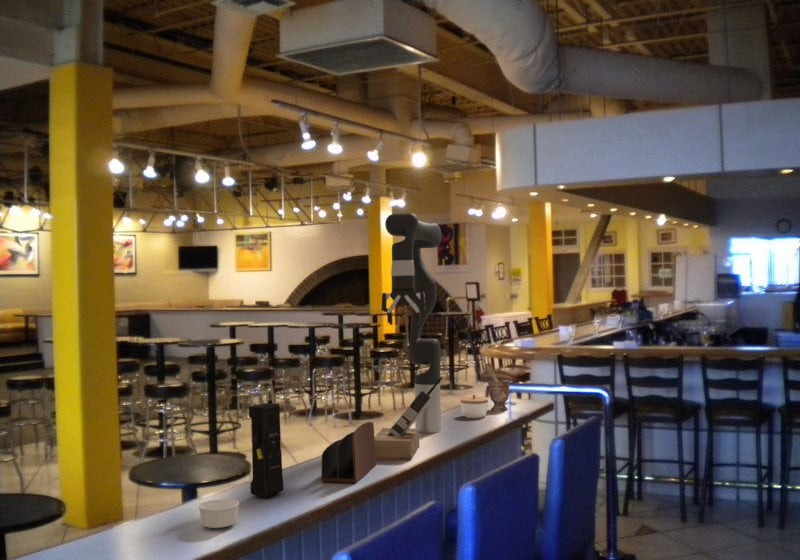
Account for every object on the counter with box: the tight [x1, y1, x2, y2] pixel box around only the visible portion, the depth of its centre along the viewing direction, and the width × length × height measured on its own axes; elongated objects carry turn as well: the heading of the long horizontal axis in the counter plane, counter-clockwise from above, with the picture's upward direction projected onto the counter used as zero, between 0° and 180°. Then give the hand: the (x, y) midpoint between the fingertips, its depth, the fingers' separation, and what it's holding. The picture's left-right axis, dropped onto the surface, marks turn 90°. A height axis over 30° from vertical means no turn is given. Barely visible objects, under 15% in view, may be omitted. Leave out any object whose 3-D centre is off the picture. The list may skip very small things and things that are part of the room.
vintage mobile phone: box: [389, 376, 443, 436], centre depth 248 cm, size 4×5×25 cm
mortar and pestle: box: [484, 362, 510, 412], centre depth 321 cm, size 12×9×20 cm
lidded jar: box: [460, 394, 489, 419], centre depth 306 cm, size 11×11×9 cm
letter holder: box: [320, 421, 377, 484], centre depth 219 cm, size 10×20×14 cm, turn 166°
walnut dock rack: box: [374, 427, 420, 461], centre depth 245 cm, size 20×12×6 cm, turn 171°
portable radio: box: [248, 393, 284, 498], centre depth 199 cm, size 8×6×25 cm
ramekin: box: [198, 498, 240, 529], centre depth 175 cm, size 9×9×4 cm
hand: (403, 324), depth 253 cm, fingers open, 8 cm apart
